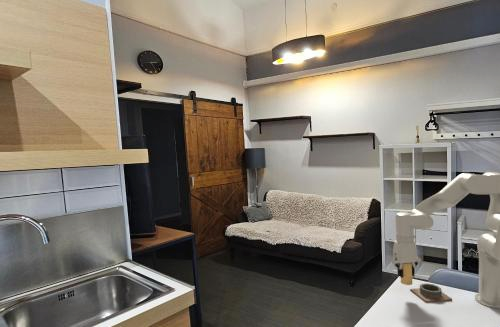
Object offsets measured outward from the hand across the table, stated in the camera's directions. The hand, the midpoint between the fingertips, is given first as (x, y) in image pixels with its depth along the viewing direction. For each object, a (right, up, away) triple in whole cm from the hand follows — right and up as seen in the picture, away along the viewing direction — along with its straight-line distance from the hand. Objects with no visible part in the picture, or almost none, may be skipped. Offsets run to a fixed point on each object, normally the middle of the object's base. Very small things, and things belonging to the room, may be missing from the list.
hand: (406, 275), depth 149 cm
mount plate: (+13, -10, +2) cm, 16 cm away
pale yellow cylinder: (0, -4, 0) cm, 4 cm away
